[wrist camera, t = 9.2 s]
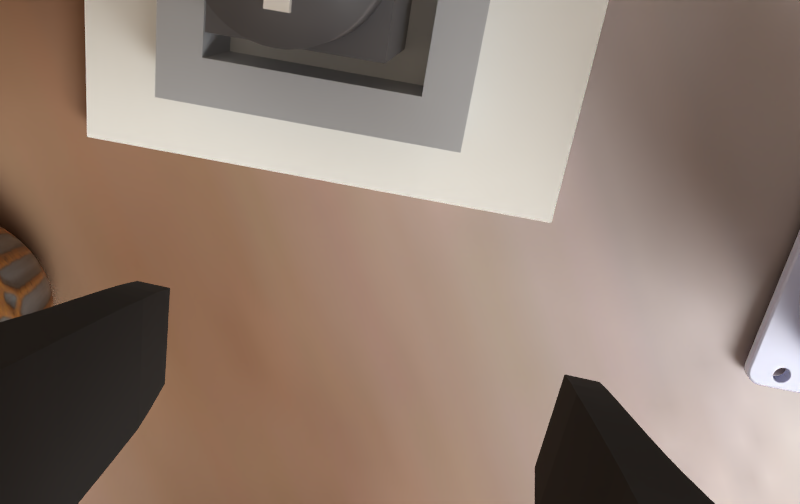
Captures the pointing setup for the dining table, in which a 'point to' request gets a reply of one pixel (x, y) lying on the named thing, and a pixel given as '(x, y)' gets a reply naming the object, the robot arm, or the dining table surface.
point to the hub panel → (358, 98)
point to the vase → (21, 280)
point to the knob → (316, 25)
